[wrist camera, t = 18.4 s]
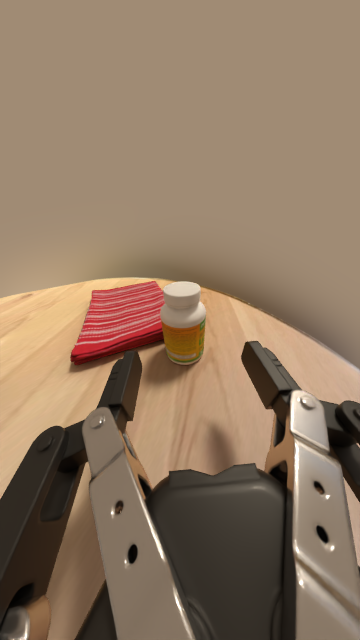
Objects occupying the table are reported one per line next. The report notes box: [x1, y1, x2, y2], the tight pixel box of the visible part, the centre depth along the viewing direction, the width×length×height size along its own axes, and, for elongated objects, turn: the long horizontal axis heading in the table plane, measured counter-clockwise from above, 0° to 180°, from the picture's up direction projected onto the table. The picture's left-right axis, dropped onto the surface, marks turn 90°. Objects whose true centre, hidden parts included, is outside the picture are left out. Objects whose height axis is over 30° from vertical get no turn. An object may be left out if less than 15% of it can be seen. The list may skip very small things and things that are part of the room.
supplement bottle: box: [160, 282, 206, 365], centre depth 18 cm, size 5×5×10 cm
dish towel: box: [70, 281, 165, 365], centre depth 29 cm, size 17×24×3 cm
